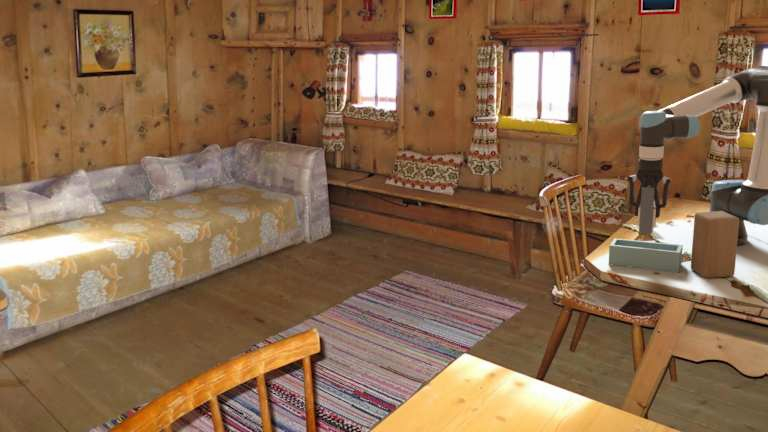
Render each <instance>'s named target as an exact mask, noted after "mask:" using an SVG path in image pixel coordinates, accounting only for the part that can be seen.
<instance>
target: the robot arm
mask: <svg viewBox="0 0 768 432" xmlns="http://www.w3.org/2000/svg"><path fill="white" fill-rule="evenodd" d="M747 100H748V101H749V100H756V104H755V107H756V108H757V109H758V110H759V115H758V120H757V125H756V131H755V135H754V136H755V137H754V142H753V148H752V153H751V157H750V158H751V159H750V164H749V170H748V174H747V175H748V176H747V178H746V180H744V179H723V180H717V181H713V183H712V186H711V191H710V205H709V212H712V211H723V212H726V213H728V214H731V215H733V216H735V217H738V218H739V230H738V240H737V246H743V245H745V244H747V243H748V233H747V229H746V226H745V225H746V224H745V221H746V222H749V223H751V224H753V225H754V224H755V225H760V226H767V225H768V65H767V66H766V65H758V66H754V67H753V66H752V67H749V68H747V69H744V70H742V71H739V72H738V73H735V74H733V75H730V76H728V77H725V78H724V79H723V80H722V82H721V83H719V84H717V85H713V86H712V87H709V88H707V89H705V90H703V91H700V92H698V93H696V94H693V95H691V96H688V97H686V98H685V99H682V100H679V101H677V102H675V103H673V104H671V105H668V106H665V107H663V108H661V109H658V110H647V111H645V112H643V113H641V114H640V117H639V118H638V126H639V129H640V130H639V131H640V133H639V146H638V147H639V150H638V157H639V159H638V167H637V168H638V169H637V172H636V173H635V174H633V175H629V176H628V178H627V179H628V182H629V205H630V206H633V207H634V216H635V217H637V227H639V224H640V208H641V192H642V187H645V186H652V187H653V188H655V194H654V199H655V207H654V209H653V222H652V228H653V229H655V228H656V227H657V226H656V225H657V224H656V223H657V219H658V218H659V217H660V215H661V209H662V208H666V207H667V205H668V204H667V202H668V195H669V184H670V183H671V181H672V178H671V177H667V176H665V174H664V173H663V165H664V159H663V158H664V153H665V152H664V149H665V141H666V140H674V139H675V140H678V139H680V140H681V139H688V138H690V139H691V138H693V137H696V136H697V135H698V133H699V131H700V125H701V124H700V121H699V118H698V117H699V116H702V115H704V114H707V113H709V112H712V111H713V110H716V109H718V108H720V107H723V106H726V105H728V104H730V103H732V104H737V103H739V102H741V101H747ZM637 180H638V181H639V182H640V183H639V184H640V187H639V191H638V195H637V198H636V197H635V194H636V191H635V190H636V184H635V183H636V181H637ZM661 181H662V183H663V184H664V185H663V191H662V201H661V199H660V193H659V186H658V184H659V183H660V182H661ZM635 198H636V200H635Z"/></svg>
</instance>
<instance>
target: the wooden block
mask: <svg viewBox="0 0 768 432" xmlns="http://www.w3.org/2000/svg"><path fill="white" fill-rule="evenodd" d="M693 220H694V221H693V231H692V232H693V233H692V234H693V235H692V244H691V245H692V247H691V259H690V269H691V271H694V272H695V273H697V274H698V275H699V276H702V277H704V278H705V279H714V278H727V277H733V276H734V275H735V271H736V269H735V268H736V259H737V250H738V248H737V247H738V245H737V240H738V230H739V218H738V217H735V216H733V215H731V214H728V213H726V212H723V211H712V212H710V211H700V212H699V211H698V212H695V213H694V218H693Z"/></svg>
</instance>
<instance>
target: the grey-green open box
mask: <svg viewBox="0 0 768 432" xmlns="http://www.w3.org/2000/svg"><path fill="white" fill-rule="evenodd" d="M683 248H684V247H683V244H676V243H666V242H664V243H663V242H655V241H644V240H633V239H624V238H613V240H612V241H611V242H610V244H609V249H608V250H609V252H608V253H609V254H608V265H609V264H613V265H612V266H617V265H620V266H619V267H625V266H631V267H630V268H634V267H637V268H638V269H643V268H644V269H645V270H651V269H653V271H661V270H662V271H661V272H668V273H669V272H670V273H679V272H680V269H681V266H682V260H683V258H682V257H683ZM621 265H622V266H621ZM637 268H636V269H637ZM644 269H643V270H644Z"/></svg>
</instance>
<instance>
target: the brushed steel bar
mask: <svg viewBox="0 0 768 432" xmlns="http://www.w3.org/2000/svg"><path fill="white" fill-rule="evenodd" d="M654 194H655V188H653V187H652V186H645V187H642V192H641V202H640V206H641V208H640V224H639V226H638V233H639V234H647V235H649V234H650V235H652V234H653V233H654V228H652V222H653V209H654V207H656V205H655V199H654Z"/></svg>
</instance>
